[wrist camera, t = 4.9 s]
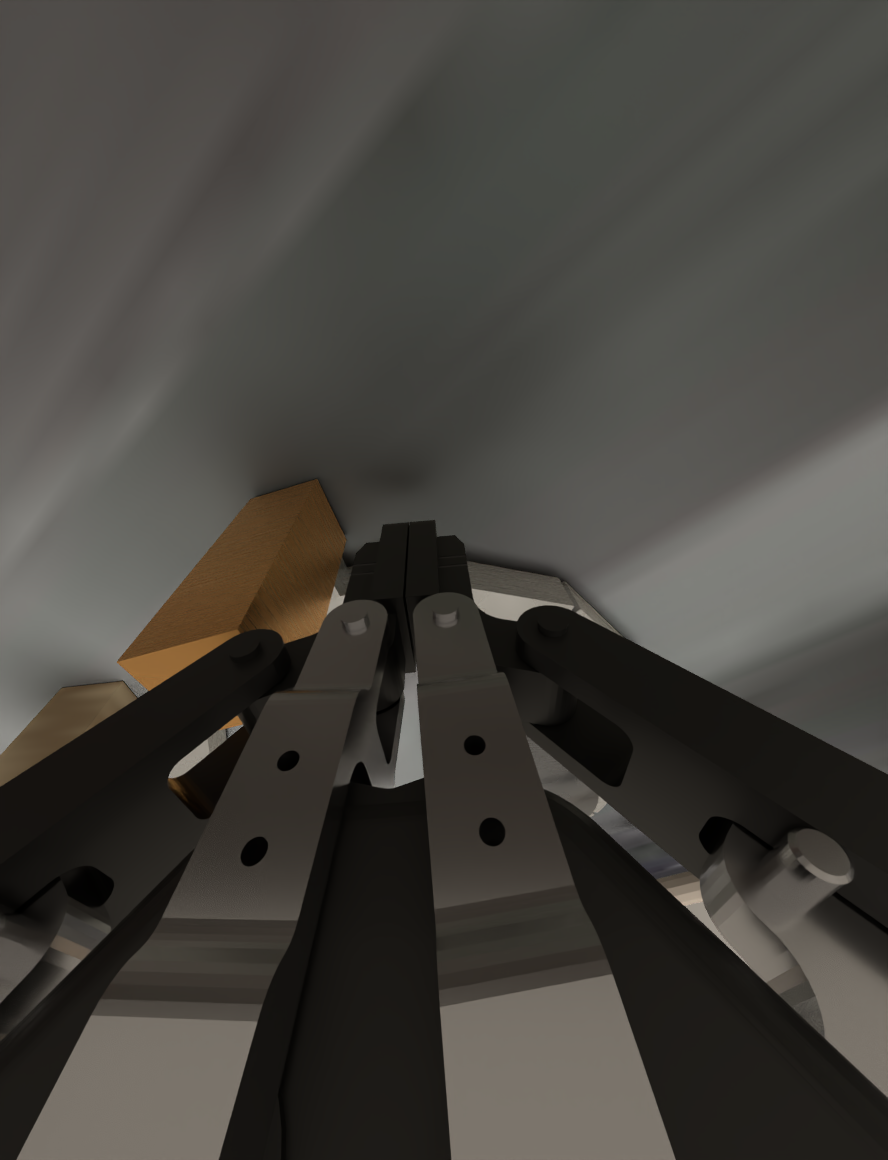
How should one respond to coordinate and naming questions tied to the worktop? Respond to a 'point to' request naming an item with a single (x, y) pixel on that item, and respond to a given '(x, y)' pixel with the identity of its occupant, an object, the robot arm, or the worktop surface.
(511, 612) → the ring
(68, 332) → the worktop surface
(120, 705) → the gauge stand
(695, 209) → the worktop surface
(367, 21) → the worktop surface
